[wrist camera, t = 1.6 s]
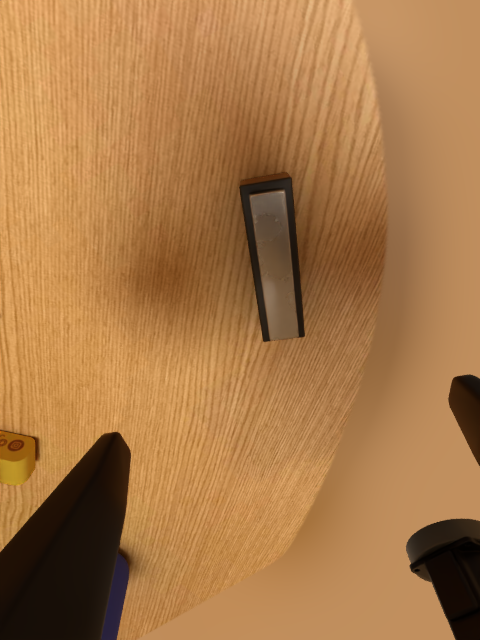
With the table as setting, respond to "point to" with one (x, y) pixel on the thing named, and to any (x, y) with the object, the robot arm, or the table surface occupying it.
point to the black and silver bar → (274, 254)
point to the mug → (116, 599)
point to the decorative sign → (16, 458)
